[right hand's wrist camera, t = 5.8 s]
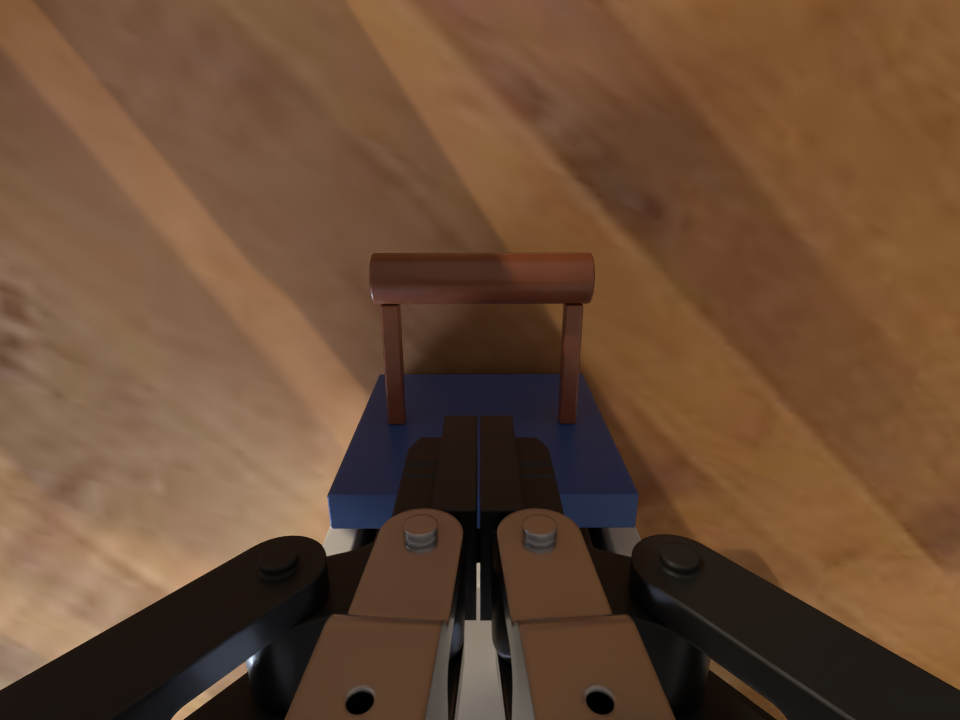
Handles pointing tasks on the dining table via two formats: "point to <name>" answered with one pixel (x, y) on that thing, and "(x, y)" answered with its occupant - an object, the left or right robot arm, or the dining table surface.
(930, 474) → the dining table surface
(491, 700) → the cabinet
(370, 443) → the drawer
